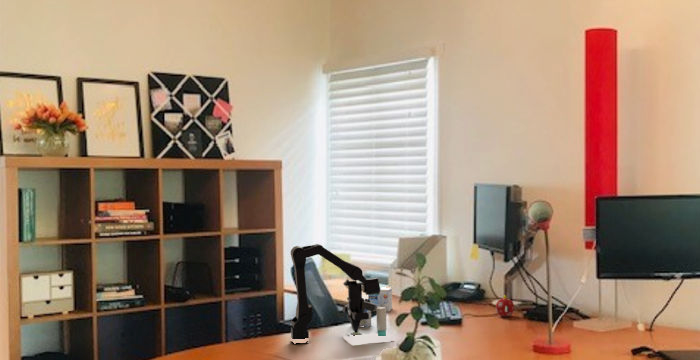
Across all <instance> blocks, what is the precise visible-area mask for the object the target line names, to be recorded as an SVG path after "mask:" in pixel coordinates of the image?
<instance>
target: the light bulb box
mask: <svg viewBox="0 0 700 360" xmlns="http://www.w3.org/2000/svg"><path fill="white" fill-rule="evenodd" d="M367 299H369V300H370V303H373V304H375V305H376V306H375V310H374V312H377V310H376V308H378V307H385V308H386V312H391V310H392V309H393V288H392V287H391V286H389V287H388V286H387V287H385V286H380V294H372V295H367Z"/></svg>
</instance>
